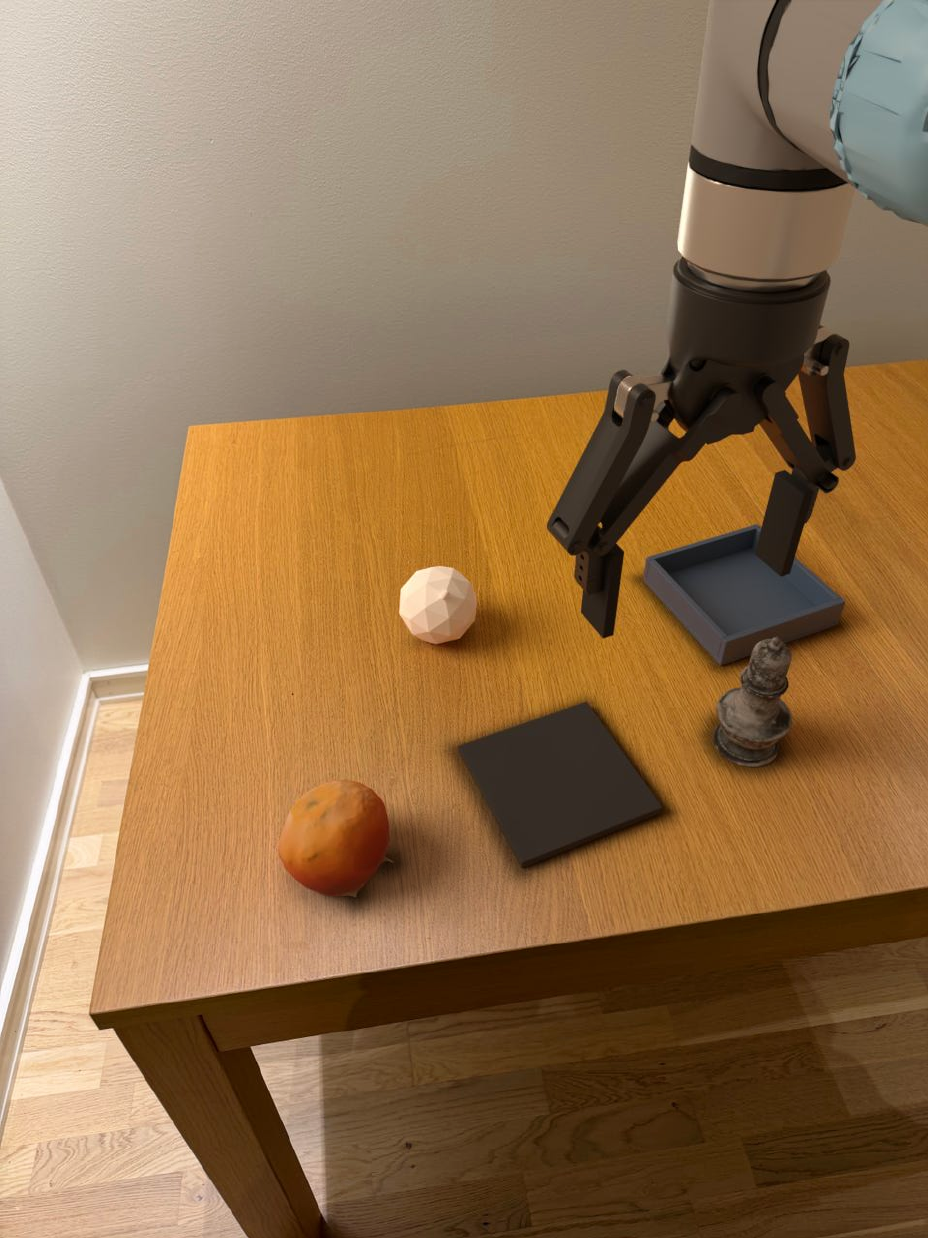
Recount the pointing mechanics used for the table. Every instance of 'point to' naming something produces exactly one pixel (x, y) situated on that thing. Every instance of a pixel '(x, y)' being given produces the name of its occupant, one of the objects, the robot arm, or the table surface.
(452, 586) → the ornament
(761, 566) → the tray
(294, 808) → the fruit
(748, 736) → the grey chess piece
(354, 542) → the table surface
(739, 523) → the table surface
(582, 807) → the mat
